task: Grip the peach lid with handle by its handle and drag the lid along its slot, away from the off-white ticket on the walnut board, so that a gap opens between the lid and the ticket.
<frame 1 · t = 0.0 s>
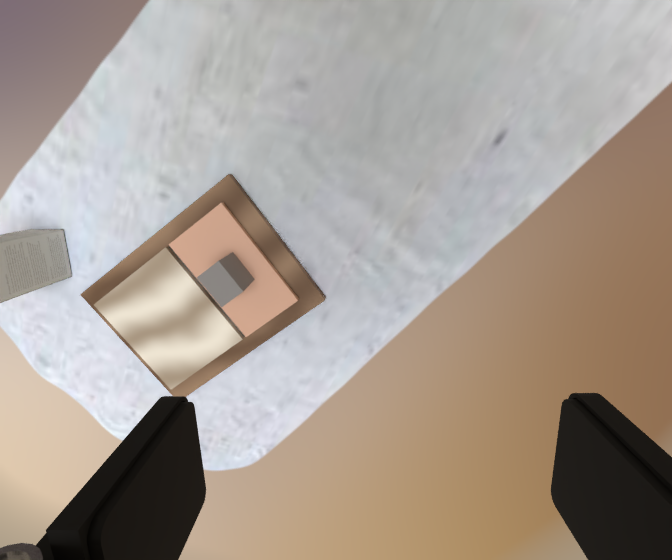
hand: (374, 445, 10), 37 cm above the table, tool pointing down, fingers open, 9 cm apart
skincare box: (53, 253, 48), on the table
peach lid with handle: (228, 277, 43), point 4 cm above the table, slide at 0.0 cm
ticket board: (204, 294, 49), on the table
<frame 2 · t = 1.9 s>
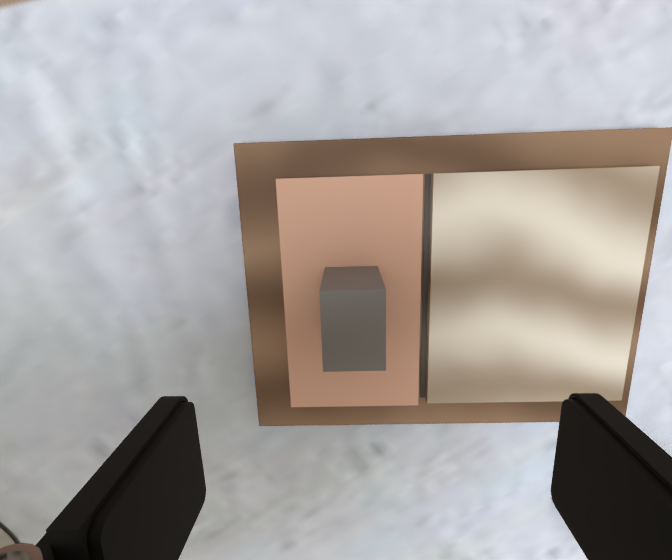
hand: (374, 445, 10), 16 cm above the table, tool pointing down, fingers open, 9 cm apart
peach lid with handle: (352, 311, 21), point 4 cm above the table, slide at 0.0 cm
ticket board: (439, 287, 25), on the table
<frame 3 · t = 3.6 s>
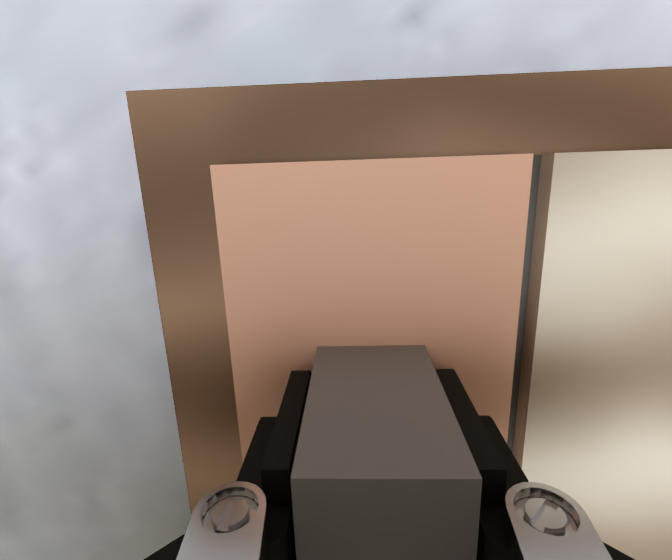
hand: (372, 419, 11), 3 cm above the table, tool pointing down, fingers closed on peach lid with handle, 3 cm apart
peach lid with handle: (375, 458, 9), point 4 cm above the table, slide at 0.0 cm, touching gripper
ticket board: (532, 370, 13), on the table
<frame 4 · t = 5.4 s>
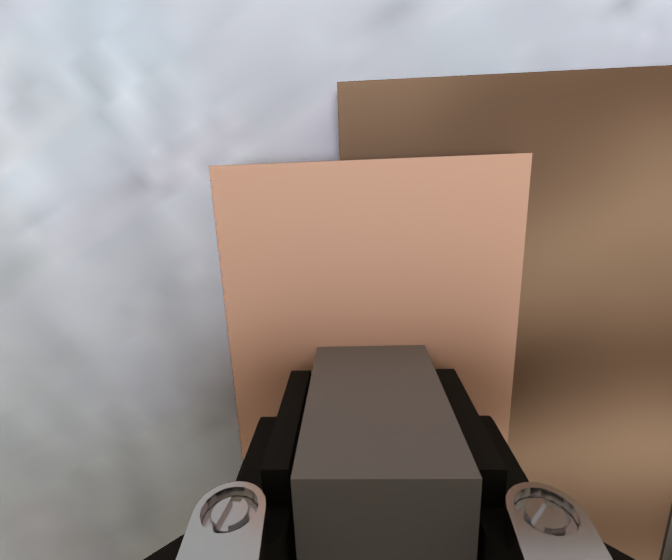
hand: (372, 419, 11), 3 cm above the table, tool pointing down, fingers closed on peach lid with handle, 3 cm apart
peach lid with handle: (375, 458, 9), point 4 cm above the table, slide at 5.7 cm, touching gripper
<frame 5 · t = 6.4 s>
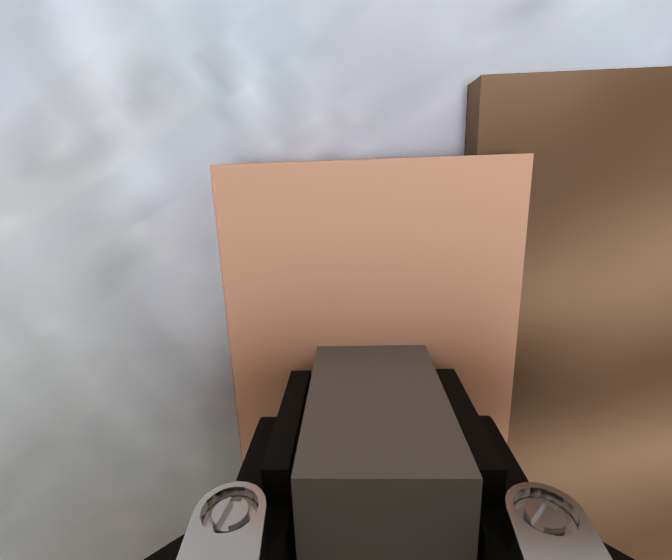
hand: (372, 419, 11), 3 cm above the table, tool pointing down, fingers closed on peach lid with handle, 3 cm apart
peach lid with handle: (375, 458, 9), point 4 cm above the table, slide at 9.3 cm, touching gripper
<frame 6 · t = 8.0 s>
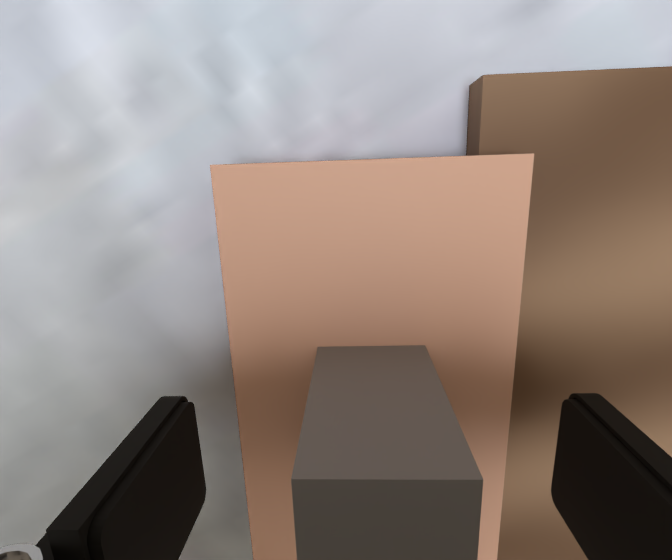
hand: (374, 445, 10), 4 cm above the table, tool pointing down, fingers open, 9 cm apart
peach lid with handle: (375, 458, 9), point 4 cm above the table, slide at 9.4 cm
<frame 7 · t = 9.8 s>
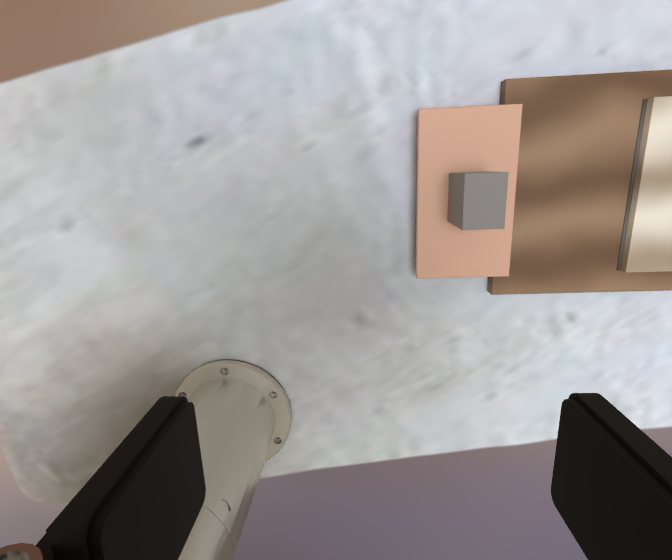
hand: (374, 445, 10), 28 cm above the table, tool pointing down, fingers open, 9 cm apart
peach lid with handle: (473, 198, 31), point 4 cm above the table, slide at 9.4 cm
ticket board: (635, 188, 34), on the table
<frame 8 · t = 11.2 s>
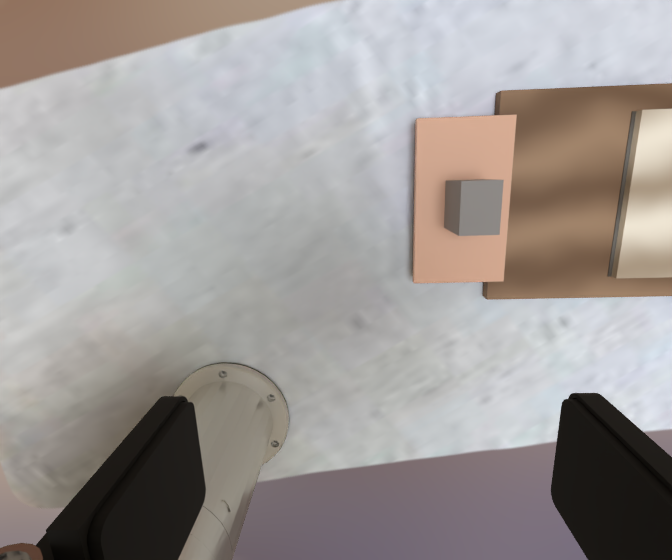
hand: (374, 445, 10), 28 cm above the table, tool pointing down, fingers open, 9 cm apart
peach lid with handle: (469, 205, 32), point 4 cm above the table, slide at 9.4 cm
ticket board: (624, 197, 35), on the table
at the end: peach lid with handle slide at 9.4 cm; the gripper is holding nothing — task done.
